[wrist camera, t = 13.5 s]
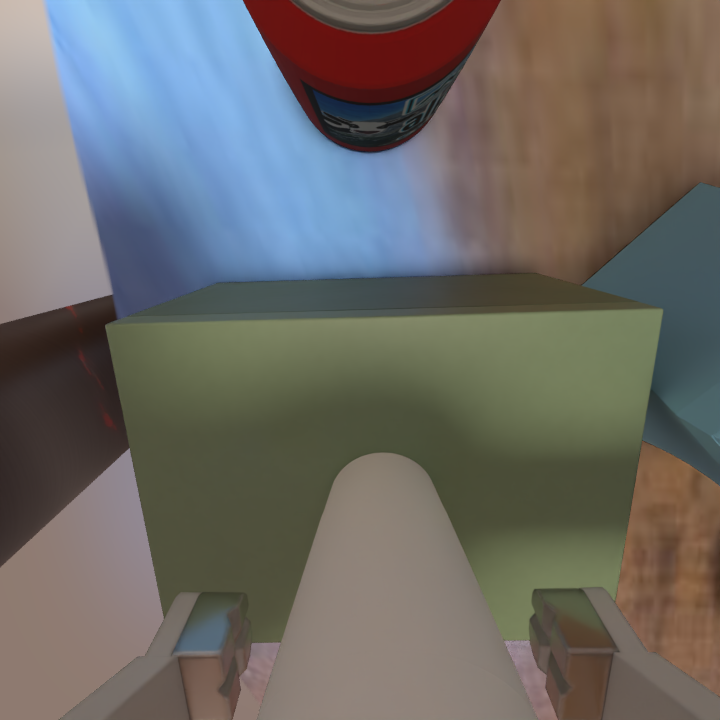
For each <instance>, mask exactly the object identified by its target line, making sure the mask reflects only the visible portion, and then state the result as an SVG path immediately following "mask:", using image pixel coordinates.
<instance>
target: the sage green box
mask: <svg viewBox="0 0 720 720" xmlns="http://www.w3.org/2000/svg"><path fill="white" fill-rule="evenodd" d="M662 317H663V309H662V308H659V307H655V306H652V305H648V304H645V303H641V302H638V301H635V300H631V299H627V298H624V297H620V296H617V295H613V294H609V293H606V292H602V291H598V290H595V289H591V288H588V287H584V286H580V285H577V284H573V283H570V282H566V281H562V280H559V279H555V278H551V277H548V276H544V275H541V274H537V273H520V274H488V275H455V276H423V277H390V278H358V279H325V280H292V281H260V282H227V283H216V284H213V285H210V286H207V287H205V288H202V289H199V290H197V291H194V292H191V293H189V294H186V295H183V296H180V297H178V298H175V299H172V300H170V301H167V302H164V303H162V304H159V305H156V306H153V307H151V308H148V309H145V310H143V311H140V312H137V313H135V314H132V315H129V316H127V317H124V318H122V319H119V320H116V321H114V322H111V323H108V324H106V326H105V328H106V333H107V338H108V343H109V348H110V353H111V357H112V362H113V367H114V372H115V377H116V382H117V387H118V392H119V397H120V402H121V407H122V412H123V417H124V422H125V427H126V432H127V437H128V442H129V447H130V451H131V457H132V462H133V467H134V472H135V476H136V482H137V486H138V491H139V497H140V501H141V507H142V511H143V516H144V521H145V526H146V531H147V536H148V541H149V546H150V551H151V556H152V561H153V566H154V571H155V576H156V581H157V586H158V590H159V596H160V600H161V606H162V611H163V616H164V618H165V616H166V614H167V613H168V611H169V609H170V607H171V605H172V603H173V601H174V599H175V598H176V596H178V595H179V594H180V593H181V592H240V593H246V594H247V598H248V603H249V607H248V610H247V614H246V617H247V618H248V619H249V620H250V621H251V626H252V643H272V642H281V641H282V638H283V635H284V631H285V628H286V625H287V622H288V619H289V616H290V613H291V610H292V607H293V603H294V600H295V597H296V594H297V591H298V588H299V585H300V582H301V579H302V575H303V572H304V569H305V566H306V563H307V560H308V557H309V554H310V551H311V547H312V544H313V541H314V538H315V535H316V532H317V529H318V526H319V523H320V520H321V517H322V514H323V512H324V509H325V506H326V503H327V500H328V497H329V494H330V491H331V488H332V485H333V482H334V480H335V478H336V477H337V475H338V474H339V472H340V471H341V470H342V469H343V468H344V467H345V466H346V465H347V464H349V463H350V462H352V461H353V460H355V459H357V458H359V457H361V456H364V455H368V454H372V453H382V452H383V453H394V454H398V455H402V456H404V457H407V458H409V459H411V460H413V461H414V462H416V463H417V464H419V465H420V466H421V467H422V468H423V469H424V470H425V471H426V472H427V474H428V475H429V477H430V479H431V480H432V483H433V485H434V487H435V489H436V491H437V493H438V496H439V498H440V500H441V502H442V505H443V507H444V508H445V510H446V512H447V515H448V517H449V519H450V521H451V523H452V526H453V528H454V530H455V532H456V535H457V537H458V539H459V541H460V544H461V546H462V548H463V550H464V553H465V555H466V557H467V559H468V562H469V564H470V566H471V568H472V571H473V573H474V575H475V577H476V580H477V582H478V584H479V586H480V589H481V591H482V593H483V595H484V598H485V600H486V602H487V604H488V607H489V609H490V611H491V613H492V616H493V618H494V620H495V622H496V625H497V627H498V629H499V631H500V634H501V636H502V638H503V640H530V637H529V619H530V618H531V616H532V615H533V614H534V613H535V611H534V608H533V606H532V604H531V599H532V593H533V591H534V589H545V588H585V587H603V588H604V589H606V590H607V591H608V593H609V594H610V596H611V597H612V599H613V600H614V602H615V600H616V594H617V588H618V582H619V576H620V570H621V564H622V558H623V552H624V546H625V540H626V534H627V528H628V522H629V516H630V510H631V504H632V498H633V492H634V486H635V480H636V474H637V468H638V462H639V456H640V450H641V444H642V437H643V431H644V425H645V419H646V413H647V407H648V401H649V395H650V389H651V383H652V377H653V371H654V365H655V359H656V353H657V347H658V341H659V335H660V329H661V323H662Z"/></svg>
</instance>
